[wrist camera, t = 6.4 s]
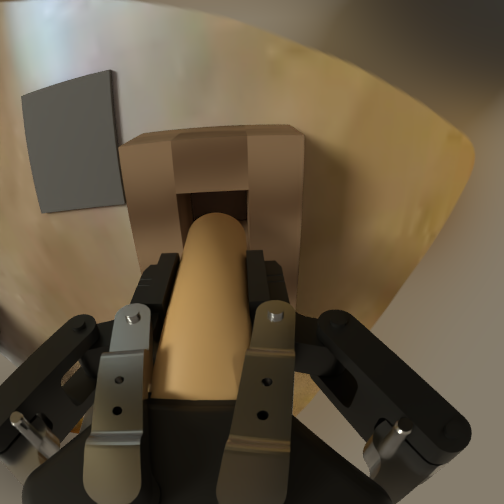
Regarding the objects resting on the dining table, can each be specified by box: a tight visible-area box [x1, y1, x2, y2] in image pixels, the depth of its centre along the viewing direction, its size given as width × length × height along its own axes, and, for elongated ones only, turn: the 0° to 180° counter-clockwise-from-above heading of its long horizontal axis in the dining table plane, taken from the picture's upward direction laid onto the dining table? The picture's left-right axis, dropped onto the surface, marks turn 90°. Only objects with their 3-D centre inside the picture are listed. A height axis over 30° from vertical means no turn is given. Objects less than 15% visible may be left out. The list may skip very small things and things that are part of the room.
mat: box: [21, 70, 126, 213], centre depth 19 cm, size 10×8×1 cm
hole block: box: [118, 125, 304, 310], centre depth 22 cm, size 20×10×5 cm, turn 1°
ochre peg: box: [148, 213, 252, 400], centre depth 12 cm, size 3×3×10 cm
